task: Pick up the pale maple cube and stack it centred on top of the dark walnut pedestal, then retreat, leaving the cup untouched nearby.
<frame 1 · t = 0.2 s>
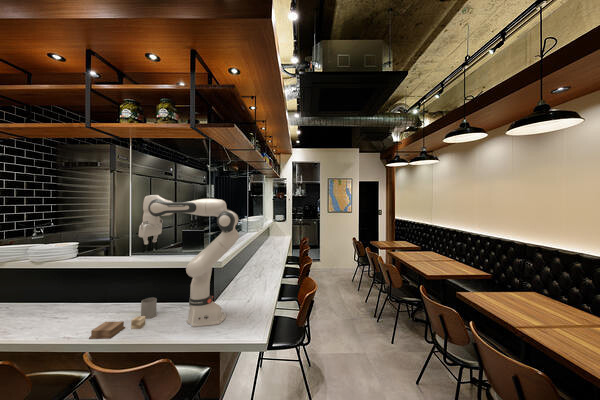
hand: (150, 243, 150), 47 cm above the table, fingers open, 8 cm apart
walnut pedestal: (107, 333, 133), on the table
maple cube: (138, 326, 141), on the table
cup: (148, 316, 155), on the table
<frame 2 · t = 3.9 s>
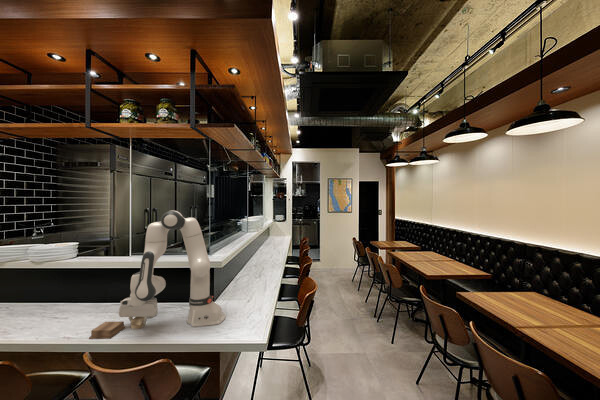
hand: (138, 323, 141), 2 cm above the table, fingers closed on maple cube, 5 cm apart
maple cube: (138, 326, 141), on the table, touching gripper
everything else where it was.
when the fingers open (7 cm above the table, at t = 8.5 s): maple cube drops 1 cm, resting on walnut pedestal.
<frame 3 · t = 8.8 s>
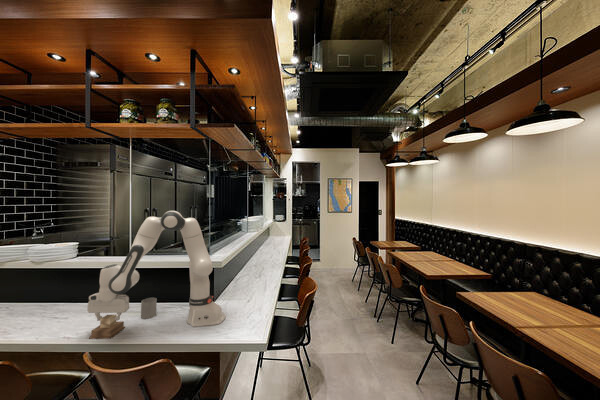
hand: (108, 320, 133), 7 cm above the table, fingers open, 8 cm apart
maple cube: (108, 325, 133), point 4 cm above the table, touching walnut pedestal
everything else where it was.
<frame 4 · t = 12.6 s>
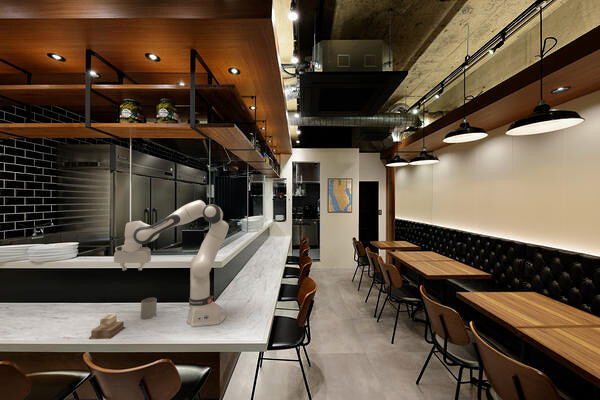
hand: (132, 270, 147), 31 cm above the table, fingers open, 8 cm apart
nothing on the table moved.
at the end: maple cube inside the target area on the walnut pedestal (0.1 cm from its centre), point 4.0 cm above the walnut pedestal's base; maple cube tilted 0°; the gripper is holding nothing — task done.
